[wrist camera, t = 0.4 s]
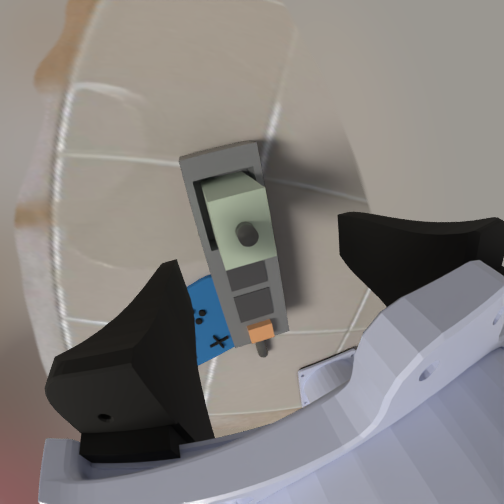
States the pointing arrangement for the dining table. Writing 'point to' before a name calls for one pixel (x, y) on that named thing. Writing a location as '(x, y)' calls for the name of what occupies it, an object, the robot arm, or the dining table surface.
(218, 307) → the handheld gaming device
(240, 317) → the power strip
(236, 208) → the charger
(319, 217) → the dining table surface
